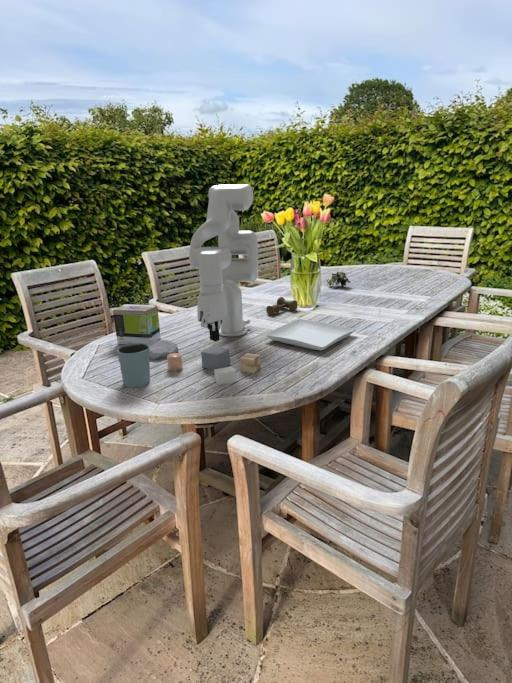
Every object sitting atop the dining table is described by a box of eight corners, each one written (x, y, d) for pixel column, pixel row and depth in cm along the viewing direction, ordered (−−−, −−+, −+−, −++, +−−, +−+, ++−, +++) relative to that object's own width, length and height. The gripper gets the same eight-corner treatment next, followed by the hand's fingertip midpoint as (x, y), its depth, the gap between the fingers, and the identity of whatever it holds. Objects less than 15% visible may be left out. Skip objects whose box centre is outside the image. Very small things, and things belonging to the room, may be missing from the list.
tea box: (161, 338, 193) (158, 304, 188) (150, 347, 184) (146, 311, 179) (129, 336, 197) (125, 302, 192) (116, 344, 188) (111, 309, 183)
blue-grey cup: (115, 387, 148) (111, 352, 144) (129, 375, 157) (125, 341, 153) (145, 389, 146) (141, 354, 142) (157, 376, 155) (154, 343, 151)
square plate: (323, 356, 170) (323, 346, 169) (263, 342, 186) (263, 333, 185) (355, 336, 190) (356, 327, 189) (299, 325, 206) (299, 317, 205)
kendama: (262, 315, 224) (287, 305, 238) (277, 319, 218) (302, 308, 232) (261, 303, 222) (287, 294, 236) (277, 306, 216) (302, 297, 230)
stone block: (181, 356, 178) (163, 346, 183) (181, 345, 176) (163, 336, 181) (157, 367, 170) (139, 356, 175) (158, 356, 167) (139, 345, 172)
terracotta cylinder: (176, 365, 165) (175, 352, 163) (185, 368, 162) (184, 355, 160) (165, 369, 161) (163, 356, 160) (174, 372, 158) (173, 359, 156)
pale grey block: (232, 377, 154) (231, 366, 152) (236, 382, 150) (235, 370, 149) (214, 380, 152) (214, 369, 150) (218, 385, 148) (218, 373, 147)
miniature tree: (341, 295, 278) (354, 279, 272) (334, 295, 269) (347, 279, 263) (328, 282, 281) (341, 267, 276) (321, 283, 272) (333, 267, 267)
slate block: (214, 361, 168) (213, 345, 166) (230, 364, 164) (229, 348, 162) (202, 367, 162) (201, 351, 160) (218, 371, 159) (217, 355, 157)
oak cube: (247, 366, 162) (247, 352, 161) (260, 368, 160) (259, 355, 158) (240, 371, 158) (240, 357, 156) (253, 373, 156) (253, 359, 154)
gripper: (220, 282, 162) (222, 332, 168) (187, 291, 151) (191, 343, 158) (235, 285, 157) (237, 336, 163) (202, 294, 147) (205, 348, 153)
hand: (214, 340), depth 160 cm, fingers closed
